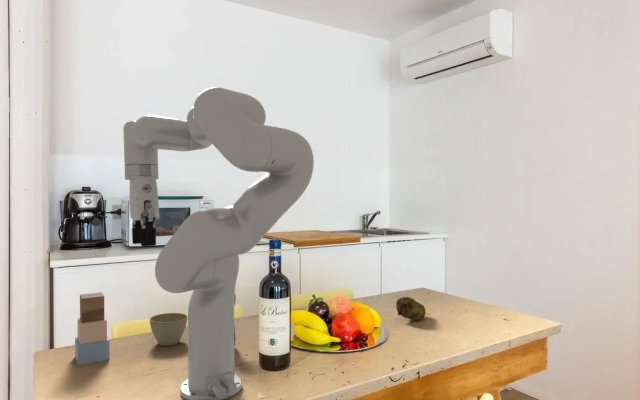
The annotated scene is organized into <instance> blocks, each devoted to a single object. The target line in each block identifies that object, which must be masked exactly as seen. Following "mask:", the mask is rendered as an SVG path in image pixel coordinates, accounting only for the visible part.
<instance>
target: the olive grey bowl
mask: <svg viewBox="0 0 640 400" xmlns="http://www.w3.org/2000/svg"><path fill="white" fill-rule="evenodd" d="M187 324H188V314H185V313H181V312H166V313H161V314H160V313H159V314H155V315H152V316H150V317H149V325H150V329H151V332H152V334H153V336H154V339H155V340H156V342H157V344H158V345H159V346H162V347H168V346H169V347H171V346H174V344H175V345H177V344H178V343H179V342H180V340H181V338H182V336H183V335H184V332H185V329H186V326H187Z"/></svg>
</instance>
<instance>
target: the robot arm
mask: <svg viewBox="0 0 640 400" xmlns="http://www.w3.org/2000/svg"><path fill="white" fill-rule="evenodd" d="M266 119H267V118H266V111H265V108H264V106H263V104H262V103H261V102H260V101H259V99H257V98H255V97H253V96H252V95H250V94H246V93H243V92H239V91H235V90H230V89H228V88H225V87H224V88H223V87H217V86H214V87H209V88H206V89H203V91H202V92H199V94H198V95H197V97H196V99H194V103H193V106H192V107H191V108H190V109H189V111H188V113H187V115H186V119H185V120H184V119H179V118H174V117H166V116H160V115H154V114H146V115H143V116H141V117H139V118H138V119H136V120H129V121H127V122H126V123H124V125H123V152H124V153H123V154H124V155H123V156H124V157H123V158H124V159H123V160H124V180H127V181H129V213H130V214H129V216H130V218H131V220H132V222H131V223H132V224H131V234H132V235H131V237H132V238H131V240H132V241H131V242H132V244H134V245H137V244H139V245H140V246H141V247H152V246H153V247H154V246H156V245H157V234H156V229H157V228H156V221H157V220H158V219H160V205H159V193H158V183H157V180H159V179H160V178H159V156H158V155H159V151H158V150H162V151H163V150H165V151H175V152H191V151H192V152H193V151H198V150H203V149H207V148H209V147H210V146H211V145H213V146H214V147H215V148H216V150H217V151H218V152H219V153H220V154H221V155H222V156H223V157H224V158H225V159H226V161H227V162H229V163H230V164H231V165H232V166H233V167H235V168H237V169H239V170H240V171H241V170H242V171H244V172H251V173H265V174H264V175H263V176H262V177H261V178H259V179H257V180H256V181H254V182H253V183H251V185H249V186H248V187H247V188H246V189H245V190H244V192H243V193H242V194H241V196H240V197H239V198H238V199H237V200H236V201H234V203H232V204H231V205H229V206H224V207H213V208H212V207H211V208H203V209H200V210H197V211H195V212H193V213H191V214H190V215H189V216H187V217H186V218H185V220H184V221H182V223H181V224H180V226H179V227H178V228H177V230H176V231H175V232H174V233H173V235H171V238H169V240H168V241H167V242H166V244H165V245H164V246H163V247H162V249H161V251H160V252H159V254H158V256H157V258H156V262H155V267H154V274H155V275H154V276H155V279H156V282H157V284H158V285H159V286H160V288H161V289H163V290H164V291H166V292H168V293H172V294H181V293H186V292H192V294H191V296H190V299H189V303H188V308H187V316H188V318H187V379H186V380H185V381H183V383H182V384H181V385H180V387H179V388H180V393H179V394H180V395H181V396H182V397H183V398H184V399H185V400H227V399H229V398H231V397H234V396H235V395H237V394H238V393H239V392H240V391H241V389H242V386H243V385H242V379H241V378H240V377H239V376H238V375H236V374H235V346H234V327H235V307H234V300H235V295H236V285H237V280H238V275H239V269H240V257H239V255H244V254H246V253H248V252H251V250H253V249H254V247H255V246H256V245H257V244H258V243H259V242H260V240H262V239H263V238H264V237H265V235H266V234H267V233H268V232H269V231H270V230H271V229H272V228H273V227H274V226H275V225H276V223H277V222H278V221H279V219H281V218H282V217H283V216H284V214H285V213H286V212H288V211H289V210H290V209H291V207H292V206H293V205H294V204H295V203H296V202H297V201H298V200H299V199H300V198H301V197H302V195H303V194H304V192H305V191H306V190H307V188H308V186H309V184H310V182H311V180H312V176H313V171H314V161H315V160H314V152H313V149H312V147H311V145H310V143H309V141H308V140H307V139H306V138H305V137H304V136H303V135H302V134H301V133H299V132H296V131H294V130H291V129H287V128H282V127H279V126H277V127H276V126H271V125H267V124H265V122H266Z"/></svg>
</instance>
